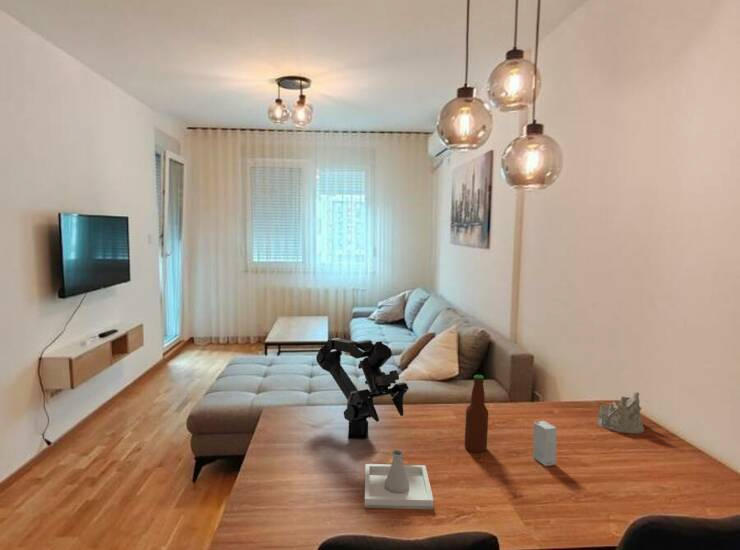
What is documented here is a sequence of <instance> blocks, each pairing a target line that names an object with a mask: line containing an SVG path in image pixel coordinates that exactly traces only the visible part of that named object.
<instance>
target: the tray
mask: <svg viewBox="0 0 740 550" xmlns="http://www.w3.org/2000/svg"><path fill="white" fill-rule="evenodd" d="M391 465H392V464H389V463H388V464H387V463H386V464H385V463H384V464H383V463H379V464H378V463H365V464H364V466H365V469H364V470H365V474H364V509H365V508H366V509H396V510H397V509H400V510H401V509H402V510H403V509H404V510H405V509H406V510H408V509H409V510H434V496H433V493H432V492H433V491H432V488H431V483H430V480H429V475H428V471H427V466H426V465H424V464H423V465H422V464H403V467H404V470H405V473H406V476H407V479H408V482H409V489H407V490H406V491H405V492H403V493H401V492H391V491H389V490H387V489H385V488H384V487H385V480H386V478H387V476H388V473H389V471H390V468H391Z"/></svg>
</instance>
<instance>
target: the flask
mask: <svg viewBox="0 0 740 550" xmlns="http://www.w3.org/2000/svg"><path fill="white" fill-rule="evenodd" d="M391 455H392V461H391V464H390V465H391V468H390V471H389V473H388V476H387V478H386V480H385V487H384V488H385V489H387V490H389V491H391V492H401V493H403V492H405V491H406V490H407V489H409V482H408V479H407V476H406V473H405V470H404V467H403V465H404V464H403V456H404V451H403V450H400V449H393V451H392V454H391Z"/></svg>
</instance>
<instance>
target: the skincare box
mask: <svg viewBox="0 0 740 550" xmlns="http://www.w3.org/2000/svg"><path fill="white" fill-rule="evenodd" d="M557 429H558V428H557V427H556V426H554V425H552V424H550V423H549V422H547V421H545V420H541V421H535V422H533V445H532V446H533V447H532V449H533V450H532V457H533V459H534V460H536V461H537V462H539V463H540V464H542V465H543V466H545V467H549V466H555V465H556V459H557V457H556V456H557V455H556V454H557Z"/></svg>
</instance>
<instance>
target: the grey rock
mask: <svg viewBox="0 0 740 550" xmlns="http://www.w3.org/2000/svg"><path fill="white" fill-rule="evenodd" d="M641 410H642V408H641V406H640V392H639V391H635V392H633V395H632V396H631V397H630V396H628V397H627V396H621V397H620V401H619V403H618V404H617V403H616V401H614V400H613V402H610V403H609V406H608V405H607V406H606V405H603V404H602V405H600V408H599V411H598V417H599V419H598V420H597V425H598V426H599V427H601V428H603V429H607V430H611V431H614V432H618V433H627V434H641V433H643V432H644V431H645V427H644V426H643V425H644V423H643V418H642V417H641Z"/></svg>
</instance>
